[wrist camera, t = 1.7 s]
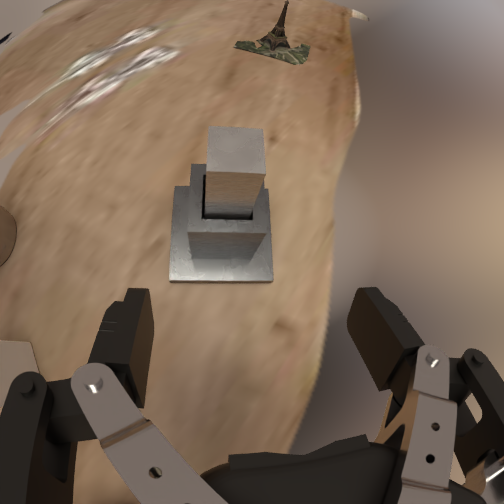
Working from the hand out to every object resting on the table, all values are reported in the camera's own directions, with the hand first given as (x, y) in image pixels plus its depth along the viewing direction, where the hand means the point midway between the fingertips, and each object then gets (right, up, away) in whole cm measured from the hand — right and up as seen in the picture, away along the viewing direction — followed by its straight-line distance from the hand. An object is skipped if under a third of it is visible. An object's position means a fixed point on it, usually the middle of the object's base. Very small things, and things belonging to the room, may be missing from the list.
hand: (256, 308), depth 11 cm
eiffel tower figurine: (+4, +45, +40) cm, 60 cm away
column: (-4, +5, +24) cm, 25 cm away
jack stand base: (-4, +4, +26) cm, 27 cm away
